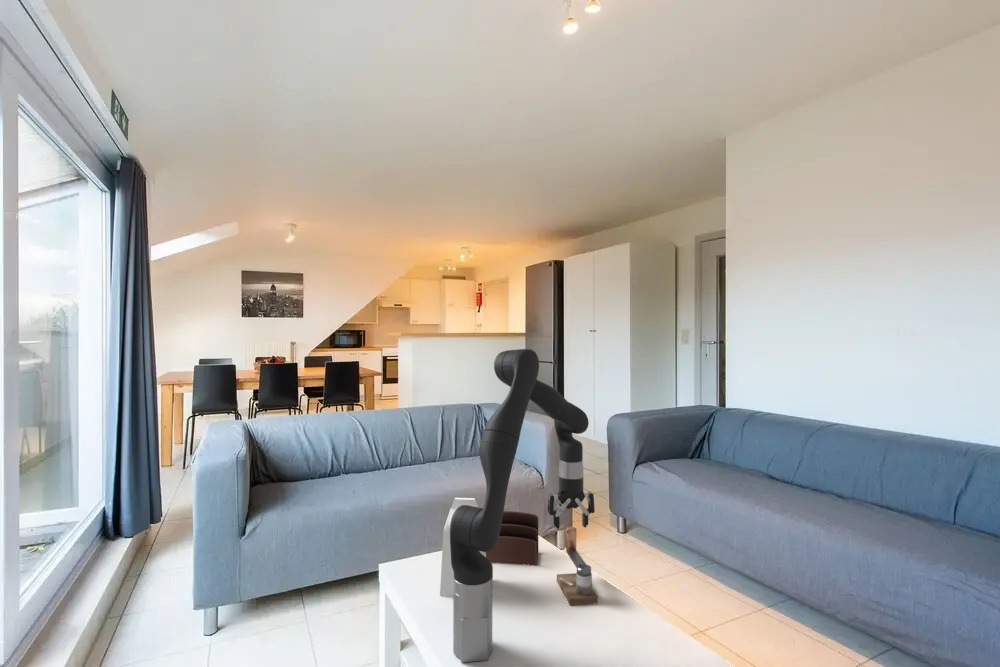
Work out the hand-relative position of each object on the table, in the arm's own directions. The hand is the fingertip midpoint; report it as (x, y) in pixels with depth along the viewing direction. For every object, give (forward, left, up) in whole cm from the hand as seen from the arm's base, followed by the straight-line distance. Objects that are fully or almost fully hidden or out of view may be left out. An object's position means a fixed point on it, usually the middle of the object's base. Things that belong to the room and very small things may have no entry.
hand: (571, 527), depth 155 cm
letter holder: (+16, +17, -16) cm, 28 cm away
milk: (-2, +33, -16) cm, 37 cm away
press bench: (-9, +1, -15) cm, 18 cm away
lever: (-7, 0, -8) cm, 10 cm away
